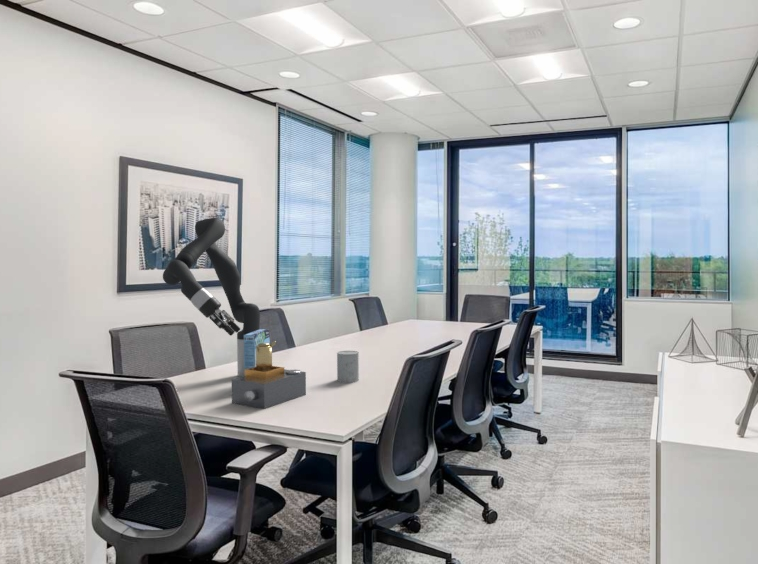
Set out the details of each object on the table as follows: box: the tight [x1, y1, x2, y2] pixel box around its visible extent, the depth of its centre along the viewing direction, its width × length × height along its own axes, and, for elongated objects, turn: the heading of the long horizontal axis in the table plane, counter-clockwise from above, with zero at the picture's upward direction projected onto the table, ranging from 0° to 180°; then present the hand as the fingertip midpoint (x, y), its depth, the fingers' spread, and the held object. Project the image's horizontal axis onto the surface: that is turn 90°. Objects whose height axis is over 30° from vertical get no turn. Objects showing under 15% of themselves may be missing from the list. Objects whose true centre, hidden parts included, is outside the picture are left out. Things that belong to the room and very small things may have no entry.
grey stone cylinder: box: [336, 350, 360, 384], centre depth 248 cm, size 10×10×12 cm
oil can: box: [256, 340, 277, 372], centre depth 217 cm, size 8×6×13 cm
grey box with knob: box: [231, 365, 307, 410], centre depth 215 cm, size 27×16×12 cm, turn 150°
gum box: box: [244, 328, 271, 376], centre depth 237 cm, size 20×5×23 cm, turn 172°
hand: (235, 332), depth 216 cm, fingers open, 8 cm apart
